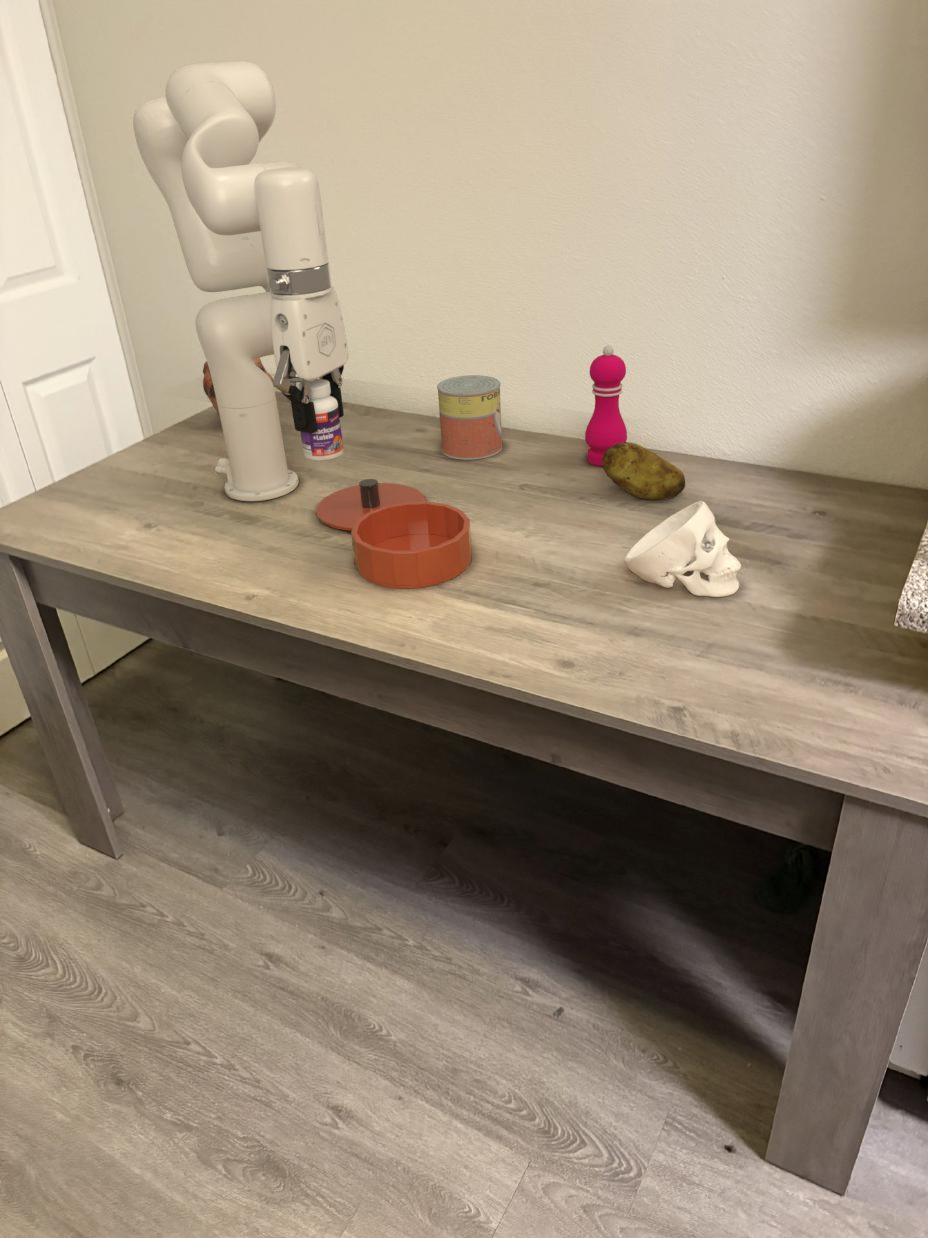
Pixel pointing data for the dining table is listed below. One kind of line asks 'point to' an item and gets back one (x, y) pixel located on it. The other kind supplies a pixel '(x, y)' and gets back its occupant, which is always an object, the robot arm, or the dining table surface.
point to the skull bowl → (686, 554)
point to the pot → (412, 544)
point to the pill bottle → (323, 424)
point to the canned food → (470, 417)
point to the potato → (642, 472)
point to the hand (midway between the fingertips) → (319, 422)
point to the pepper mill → (605, 406)
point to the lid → (362, 502)
